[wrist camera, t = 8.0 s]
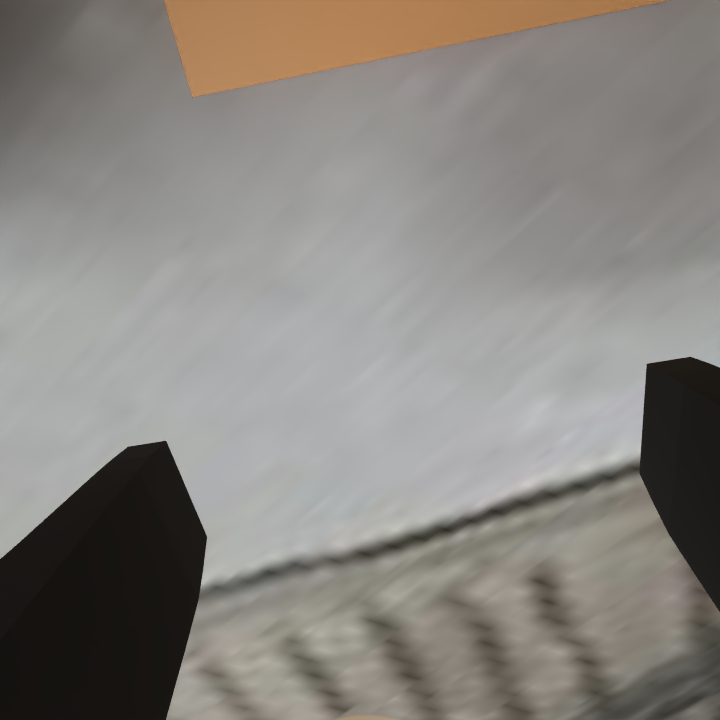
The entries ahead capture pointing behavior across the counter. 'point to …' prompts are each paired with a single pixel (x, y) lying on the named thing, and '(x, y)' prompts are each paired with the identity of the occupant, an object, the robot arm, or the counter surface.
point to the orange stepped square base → (342, 32)
